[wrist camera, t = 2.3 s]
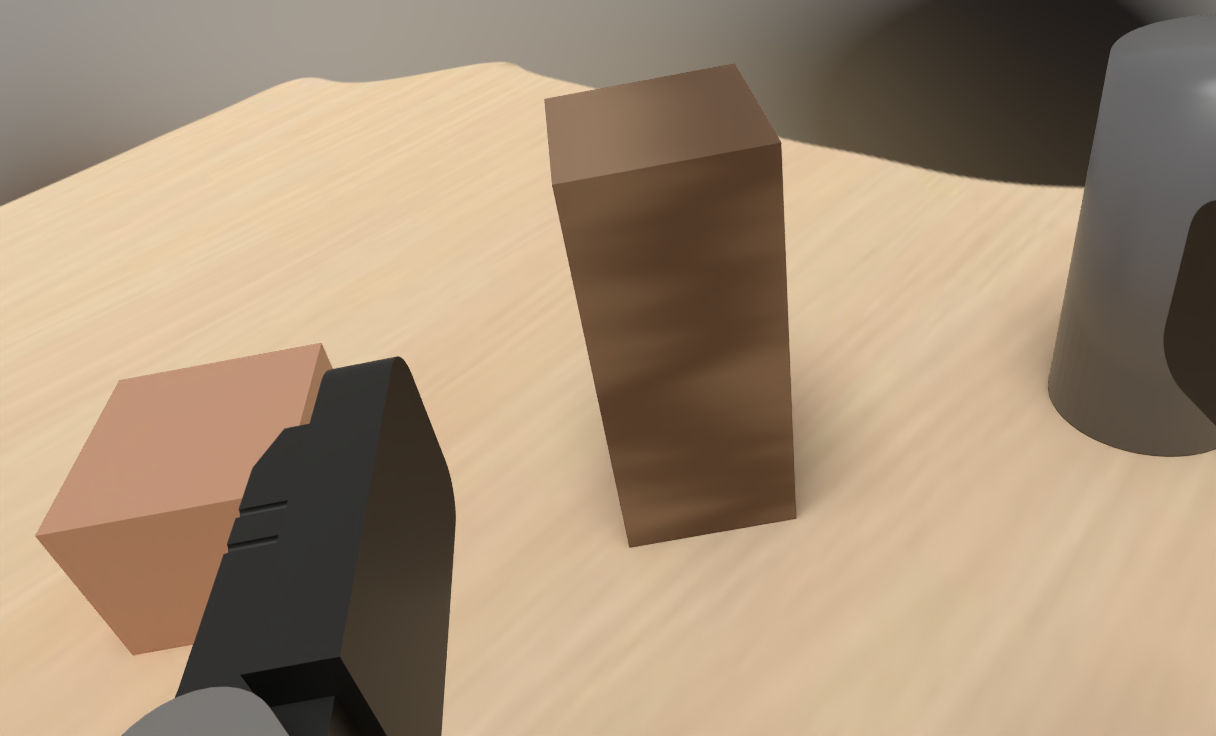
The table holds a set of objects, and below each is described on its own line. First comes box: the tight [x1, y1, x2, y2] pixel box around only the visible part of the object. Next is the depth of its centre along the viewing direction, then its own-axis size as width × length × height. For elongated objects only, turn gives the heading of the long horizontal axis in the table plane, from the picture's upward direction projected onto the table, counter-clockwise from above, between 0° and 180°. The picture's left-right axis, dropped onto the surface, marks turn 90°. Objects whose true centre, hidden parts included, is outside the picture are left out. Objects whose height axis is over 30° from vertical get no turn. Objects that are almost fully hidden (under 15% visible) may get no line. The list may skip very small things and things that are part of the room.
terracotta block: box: [35, 343, 333, 655], centre depth 25 cm, size 6×6×5 cm
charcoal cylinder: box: [1048, 14, 1216, 456], centre depth 23 cm, size 5×5×10 cm
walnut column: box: [544, 64, 796, 547], centre depth 23 cm, size 5×5×11 cm
